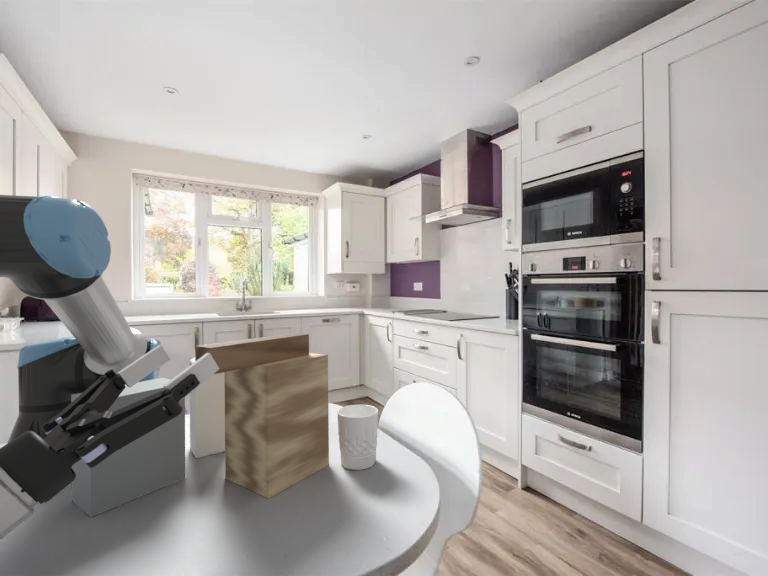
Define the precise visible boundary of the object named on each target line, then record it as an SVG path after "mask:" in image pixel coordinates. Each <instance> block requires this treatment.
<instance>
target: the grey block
mask: <svg viewBox="0 0 768 576" xmlns="http://www.w3.org/2000/svg"><path fill="white" fill-rule="evenodd" d="M170 380H171V379H170V378H166V377H158V379H153V380H147V381H142V382H138V383H136V384H135V385H134V386H132V387H131V388H129V387H128V386H127V385H125V386H126V387H125V389H124V390H123V391H122V393H121V394H120V395H119V396H118V398H117V399H116V400H115V402H114V403H113V404H112V406H111V407H110V408H109V409H108V411H110V412H114V411H116V410H119V409H121V408H123V407H126V406H128V405H130V404H132V403H135V402H137V401H139V400H142V399H144V398H146V397H149V396H151V395H153V394H155V393H158V392H160V391H162V390H165V388H164V387H163V386H164V385H165V384H166V383H167V382H169V381H170ZM81 394H82V393H78V394H73V395H71V403H72V402H73V401H74V400H75V399H76V398H77V397H78V396H80V395H81ZM179 404H180V406H181V407H182V412H181V414H179V415H178V416H176V417H175V418H173V419H171V420H169V421H168V422H166V423H164V424H163V425H161V426H159V427H157V428H156V429H154V430H152V431H150V432H149V433H147V434H145V435H143V436H142V437H140V438H138V439H136V440H135V441H133V442H131V443H129V444H128V445H126V446H124V447H123V448H121V449H119V450H117V451H116V452H114V453H112V454H111V455H110V456H108V457H107V458H106V459H104V460H103V461H102V462H100V463H99V464H98V465H96V466H95V467H92V468H90V467H89V466H88V465H87V464H86V463H85V462H84V461H83V459H81V460H80V461H78V462H77V463H75V464H74V465H72V469H73V470H74V472H75V473H76V478H75V479H74V481H73V482H71V501H72V502H73V503H74V504H75V505H76V506H77V507H78V508H80V510H82V511H83V512H84V513H85V514H86V515H87V516H89V517H90V518H93V517H95V516H98V515H101V514H102V513H105V512H108V511H109V510H112V509H114V508H117V507H119V506H122V505H124V504H127V503H129V502H131V501H133V500H136V499H139V498H141V497H143V496H146V495H148V494H150V493H153V492H155V491H157V490H160V489H162V488H165V487H167V486H170V485H173V484H174V483H177V482H180V481H182V480H184V479H186V397H185V398H183V399H182V400H181V401H180V402H179Z"/></svg>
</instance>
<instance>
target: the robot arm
mask: <svg viewBox="0 0 768 576" xmlns="http://www.w3.org/2000/svg"><path fill="white" fill-rule="evenodd" d="M108 236H109V232H108V229H107V227H106V224H105V223H104V221H103V219H102V217H101V216H100V215H99V213H98V212H97V211H96V210H95V209H94V208H93V207H92V206H91V205H90V204H87V203H86V202H83V201H81V200H78V199H72V198H63V197H59V196H55V195H54V196H53V195H44V196H42V195H41V196H35V195H34V196H33V195H32V196H30V195H13V194H12V195H11V194H10V195H9V194H8V195H7V194H5V195H4V194H0V278H7V279H10V280H11V281H12V283H13V284H14V285H15V286H16V287H17V288H18V290H20V291H21V292H22V293H23V294H25V295H26V296H28V297H31V298H34V299H37V300H44V303H46V304H47V306H48V307H49V308H50V309H51V310H52V312H53V313H54V314H55V315H56V317H57V318H58V319H59V320H60V321H61V323H62V324H63V326H64V327H65V328H66V329H67V330H68V332H70V334H71V335H72V336H70V337H62V338H57V339H49V340H45V341H44V340H43V341H38V342H35V343H30V344H26V345H24V346H22V348H20V350H19V353H18V361H17V366H16V368H17V371H18V372H17V375H18V376H17V377H18V378H17V379H18V380H17V381H18V383H17V384H18V385H17V386H18V416H17V419H16V421H15V423H14V425H13V428H12V431H11V433H10V436H9V438H8V440H7V443H6V444H5V445H3V446H2V447H0V540H2V539H3V538H4V537H5V536H7V535H8V534H10V532H12V531H13V530H15V529H16V528H17V527H18V526H20V525H21V524H22V523H23V522H24V521H26V520H27V519H28V518H30V517H31V516H32V515H33V514H34V512H35V509H34V506H35V505H37V504H38V503H39V504H40V505H43V503H48V502H49V501H50V500H51V499H53V498H54V497H55V496H56V495H58V494H59V493H60V492H62V491H63V490H65V488H66V487H68V486H69V485H70V484H72V482H73V481H74V479H75V478H76V473H75V472H74V470H73V469H72V465H74V464H75V463H77V462H78V461H80V460H81V459H83V461H84V462H85V463H86V464H87V465H88V466H89V467H90V468H92V467H95V466H96V465H98V464H99V463H100V462H102V461H103V460H104V459H106V458H107V457H108V456H110V455H111V454H112V453H114V452H116V451H117V450H119V449H121V448H123V447H124V446H126V445H128V444H129V443H131V442H133V441H135V440H136V439H138V438H140V437H142V436H143V435H145V434H147V433H149V432H150V431H152V430H154V429H156V428H157V427H159V426H161V425H163V424H164V423H166V422H168V421H169V420H171V419H173V418H175V417H176V416H178V415H179V414H181V412H182V407H181V406H180V404H179V402H180V401H181V400H182V399H183V398H185V399H186V397H187V396H188V395H190V393H191V392H192V391H193V390H194V389H196V388H197V387H198V386H199V385H201V384H202V383H203V382H204V381H205V380H207V379H208V378H209V377H210V376H212V375H213V374H214V373H215V372H216V371H218V370H219V367H218V365H217V364H216V362H215V361H214V359H213V357H212V356H211V354H210V353H206V354H205V355H203V356H202V357H201V358H199V359H198V360H197V361H195V362H194V363H193V364H191V365H190V364H189V365H188V366H187V367H186V368H185V369H183V370H182V371H181V372H179V373H178V374H177V375H175V376H174V377H173V378H172V379H171V380H170V381H169V382H167V383H166V384H165V385H164V386H163V387H164V388H165V390H162V391H160V392H158V393H155V394H153V395H151V396H149V397H146V398H144V399H142V400H139V401H137V402H135V403H132V404H130V405H128V406H126V407H123V408H121V409H119V410H116V411H114V412H110V411H108V409H109V408H110V407H111V406H112V404H113V403H114V402H115V400H116V399H117V398H118V396H119V395H120V394H121V393H122V391H123V390H124V389H125V387H126V386H125V385H127V386H128V387H129V388H131V387H132V386H134V385H135V384H136V383H138V382H142V381H147V380H153V379H158V378H159V376H160V370H161V367H162V366H163V365H164V364H165V363H168V362H169V361H170V360H171V357H170V356H169V355H168V353H167V351H166V350H165V349H164V347H163V346H162V344H161V341H160V340H159V339H157V338H152V337H151V338H149V339H148V338H147V339H146V337H145V335H144V334H143V333H142V332H141V331H139V330H138V329H135V328H134V327H133V328H132V327H131V326H130V324H129V322H128V321H127V319H126V318H125V315H124V314H123V312H122V310H121V309H120V307H119V304H118V303H117V302H116V299H115V297H114V296H113V295H112V293H111V291H110V289H109V287H108V286H107V283H105V280H104V279H103V277H102V275H103V273H104V272H105V271H106V270H107V267H108V266H109V263H110V260H111V253H112V249H111V241H110V240H109V238H108ZM78 393H82V394H81V395H80V396H78V397H77V398H76V399H75V400H74V401H73V402H72V403H71V395H73V394H78Z"/></svg>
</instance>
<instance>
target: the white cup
mask: <svg viewBox="0 0 768 576" xmlns="http://www.w3.org/2000/svg"><path fill="white" fill-rule="evenodd" d="M336 412H337V428H338V429H337V431H338V444H339V451H340V463H341V466H342V467H344V468H345V469H348V470H352V471H353V470H354V471H362V470H366V469H370V468H371V467H373V466H374V465H375V463H376V462H377V446H378V429H379V428H378V425H379V409H378V408H377V407H376V406H373V405H369V404H350V405H345V406H342V407H340V408H338V410H337V411H336Z"/></svg>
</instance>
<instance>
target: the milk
mask: <svg viewBox="0 0 768 576" xmlns="http://www.w3.org/2000/svg"><path fill="white" fill-rule="evenodd" d="M203 345H206V344H205V343H204V344H203ZM194 362H195V356H194V357H193V358H191V359H189V366H190V365H191V364H193V363H194ZM189 439H190V440H189V443H190V444H189V447H190V451H191V452H192V454H193V456H194V458H195V459H200V458H203V457H208V456H211V455H215V454H220V453H223V452H224V453H225V377H224V372H223V373H218V374H213V375H212V376H210V377H209V378H208V379H207V380H205V381H204V382H203V383H202V384H201V385H199V386H198V387H197V388H196V389H194V390H193V391H192V392H191V393H189Z"/></svg>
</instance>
